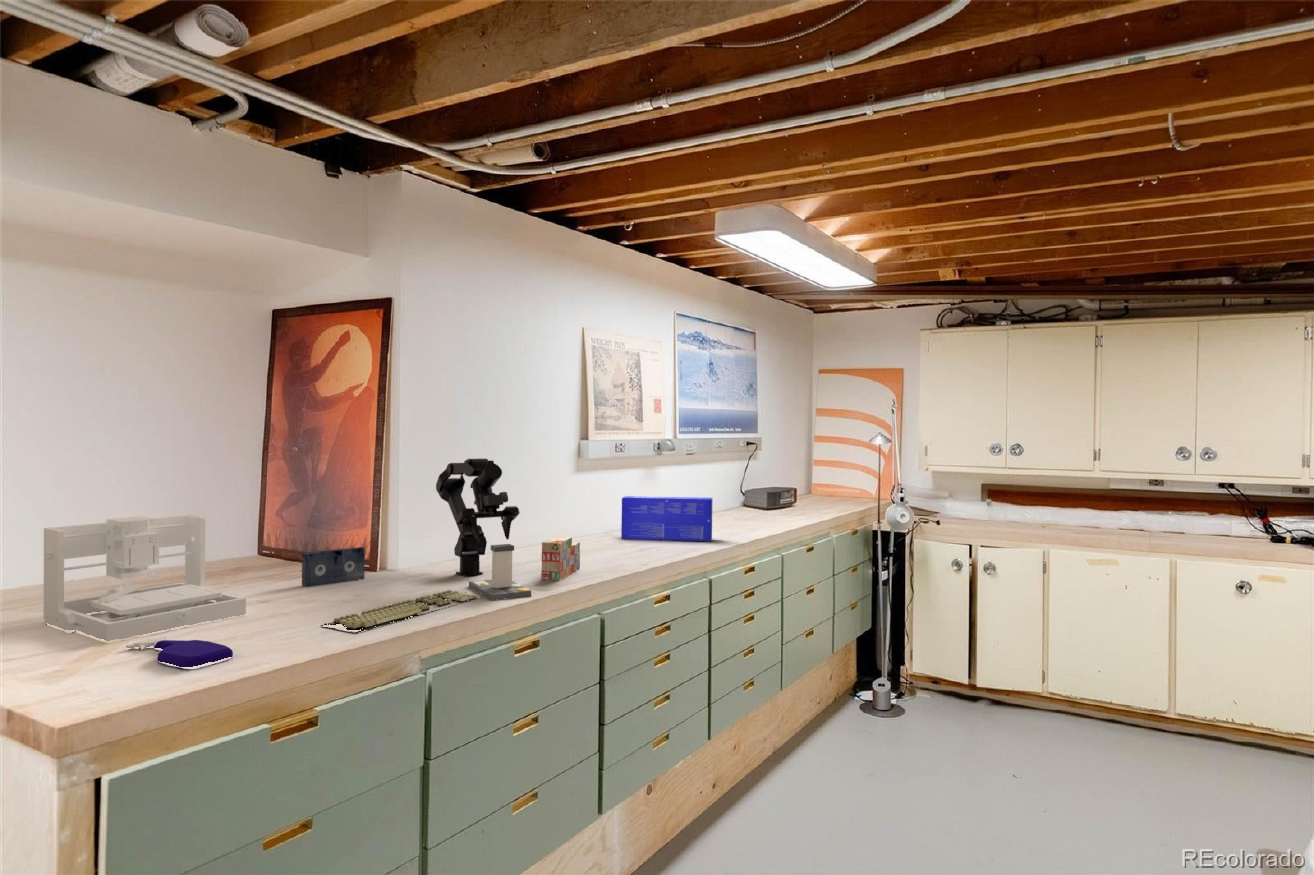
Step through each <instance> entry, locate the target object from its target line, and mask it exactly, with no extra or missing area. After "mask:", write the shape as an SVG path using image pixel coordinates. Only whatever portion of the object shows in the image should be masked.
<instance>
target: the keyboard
mask: <svg viewBox="0 0 1314 875" xmlns="http://www.w3.org/2000/svg"><path fill="white" fill-rule="evenodd" d="M475 598H476V599H477V598H478V595H477V594H468V593H467V592H466V591H465V592H464V593H463V592H459V591H457V590H455V591H452V590H450V589H448V590H444V591H438V592H435V593H433V594H432V596H431V594H428V595H427V594H426V595H423V596H420V597H415V599H407V600H404V601H399V602H397V603H396V602H395V603H392V604H391V605H384V606H379V607H375V608H372V609H367V610H363V611H361V614H358V613H355V612H354V613H351V614H347V615H345V616H343V615H342V616H340V617H334V618H333V621H331V622H327V623H328V625H329V624H330V625H336V624H342V625H343V626H344V625H345V626H344V627H347V628H346V629H347V630H360V629H361V631H364V630H368V631H371V629H372V630H374V629H373V628H375V629H377V628H376V627H379V626H382V625H386V626H388V625H387V624H389V625H392V624H391V623H393V621H394V622H396V623H398V622H397V621H400V622H403V621H406V620H405V618H406V619H407V620H409V619H408V617H409V618H410V619H412V618H411V617H410V616H413V617H414V616H417V617H420V615H421V616H424V615H427V614H426V613H428V614H430V613H429V612H431V613H434V611H435V612H438V611H441V610H440V609H442V610H444V609H443V608H445V609H447V608H446V607H447V605H449V606H448V608H450V607H451V606H452V607H455V606H458V605H457V604H458V603H462V602H464V601H465V602H466V603H469V602H471V600H470V599H472V600H474V599H475ZM443 599H447V600H443ZM481 599H483V597H481ZM467 600H469V602H468V601H467ZM414 601H415V602H414ZM454 601H457V602H456V603H457V604H454V605H455V606H454V605H452V604H451V605H450V604H449V603H453V602H454ZM458 601H460V602H458ZM416 602H422V603H416ZM423 603H424V604H423ZM426 603H427V604H428V605H427V604H426ZM432 604H433V605H436V606H438V607H437V608H439V607H442V605H444V606H446V607H442V608H439V609H436V610H435V609H434V610H431V611H429V610H430V608H431V607H430V606H433V605H432ZM437 610H438V611H437ZM425 611H427V612H425ZM423 612H425V613H423ZM417 614H419V615H417ZM414 618H415V617H414ZM402 620H403V621H402ZM390 622H391V623H390ZM327 623H323V624H324V625H327ZM393 624H394V623H393ZM321 626H323V625H322V624H321V625H320V627H321ZM375 626H376V627H375ZM382 627H383V626H382ZM362 628H363V629H362ZM379 628H380V627H379ZM361 631H358V632H361ZM358 632H356V634H359V633H358ZM361 633H362V632H361ZM354 635H355V633H354Z"/></svg>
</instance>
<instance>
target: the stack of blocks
mask: <svg viewBox="0 0 1314 875" xmlns="http://www.w3.org/2000/svg"><path fill="white" fill-rule="evenodd" d="M580 544H581V542H580V541H573V537H572V536H552V537H551V538H549V539H546V540H544V541H542V542H541V573H540V575H541V578H540V580H541V579H548V580H547V581H553V580H560V581H562V580H564V579H566V578H567V577H569V576H570V575H572V574H573V573H575V572H576V571H578V570H579V569H580V568H581V562H580V561H581V550H580V547H581V545H580ZM568 575H569V576H568ZM565 577H566V578H565ZM561 579H562V580H561Z"/></svg>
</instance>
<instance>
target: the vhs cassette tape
mask: <svg viewBox="0 0 1314 875" xmlns="http://www.w3.org/2000/svg"><path fill="white" fill-rule="evenodd" d="M301 554H302V555H301V586H302V587H304V588H310V587H317V586H318V587H319V586H325V585H331V584H339V583H345V582H353V581H354V582H355V581H360V580H359V579H361V580H365V575H366V574H365V558H366V557H365V554H366V553H365V547H363V546H360V547H350V548H348V547H346V548H339V549H328V550H327V549H326V550H320V551H319V550H318V551H309V552H308V551H307V552H302V553H301Z"/></svg>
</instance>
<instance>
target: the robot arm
mask: <svg viewBox="0 0 1314 875" xmlns="http://www.w3.org/2000/svg"><path fill="white" fill-rule="evenodd" d="M455 475H457V476H458V475H460V477H459V478H458V477H451V476H455ZM464 476H467V477H469V478H471V477H474V478H473V480H472V481H471V483H470V489H472V491H473V497H474V501H473V504H474V505H475V506H476V509H477V511H476V510H475V509H474V508H473V507H469V508H467V506H466V504H465V501H464V499H463V496H462V493H463V491H464V487H465V484H466V480H465V478H464ZM502 476H503V470H502V469H501V467H500V466H499V465H498V464H496V463H495V461H494V460H489V459H488V458H467V459H466V460H464V461H463V462H450V463H448V464H447V466H446V468H445V469H444V470H443V471H442V472H441V473H440V474H439V475H438V477H437V480H436V484H435V490H436V492H437V493H438V496H439V497H440V499H442V500H443V501H445V502H447V504H448V505H449V510H450V511H451V514H452V516H453V519H454V521H455V523H456V526H457V529H458V531H459V535H458V538H457V542H456V544H455V545H454V548H453V550H454V556H456V557H458V558H459V571H455V574H456V575H460V576H464V577H470V576H476V575H483V574H484V571H480V569H481V568H480V564H481V563H480V556H485V554H486V549H487V543H488V542H487V538H486V536H485V533H484V531H483V528H482V526H481V525H479V524H478V519H485V518H486V519H489V518H500V520H501V527H502V530H503V533H504V537H505V539H506V540H509V539H510V534H511V527H512V526H511V525H512V522H513V521H514V520H515V519H517V517H518V516H519V515H520V513H521V512H520V508H519V507H518V506H517V505H510V506H509V505H508V506H505V507H504V508H503V510H499V509H500V507H501V506H503V505H504V503H508V502H509V495H508V492H507V491H500V492H499V494H496V493H495V492H493V488H492V487H494V486H495V485H496V483H497V482H498V481H499V479H500V478H501V477H502ZM450 477H451V478H450Z"/></svg>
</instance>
